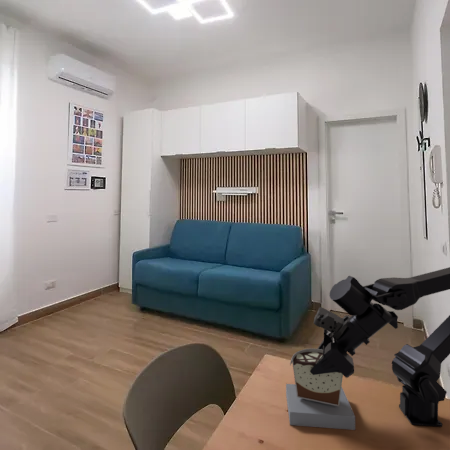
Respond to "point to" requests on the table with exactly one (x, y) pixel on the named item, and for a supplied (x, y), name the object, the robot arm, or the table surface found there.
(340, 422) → the base block
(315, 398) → the food container
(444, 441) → the table surface
